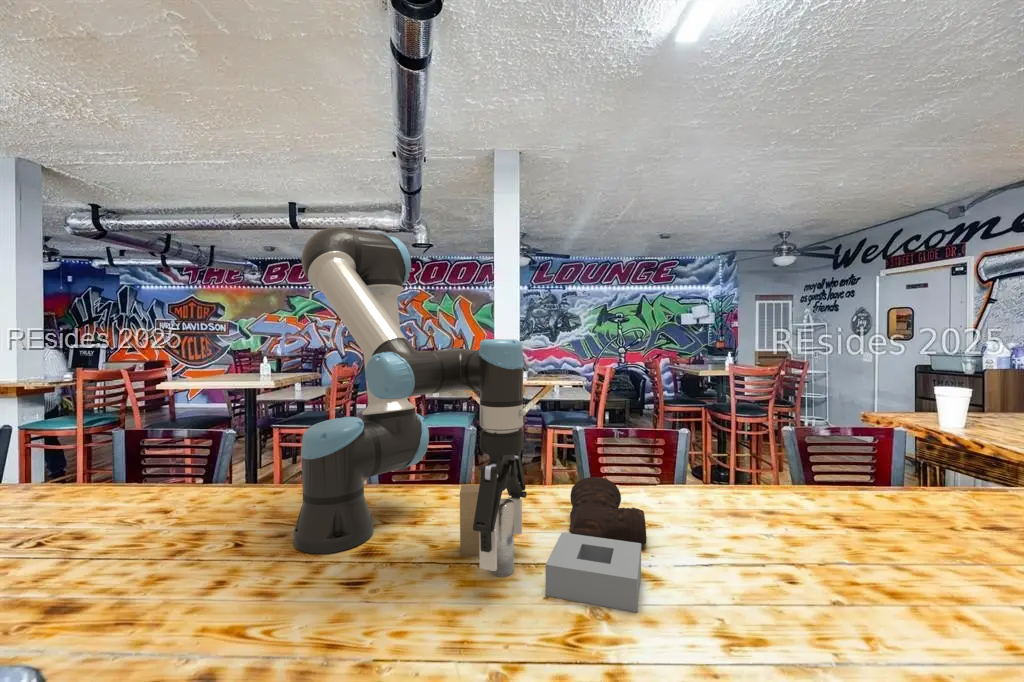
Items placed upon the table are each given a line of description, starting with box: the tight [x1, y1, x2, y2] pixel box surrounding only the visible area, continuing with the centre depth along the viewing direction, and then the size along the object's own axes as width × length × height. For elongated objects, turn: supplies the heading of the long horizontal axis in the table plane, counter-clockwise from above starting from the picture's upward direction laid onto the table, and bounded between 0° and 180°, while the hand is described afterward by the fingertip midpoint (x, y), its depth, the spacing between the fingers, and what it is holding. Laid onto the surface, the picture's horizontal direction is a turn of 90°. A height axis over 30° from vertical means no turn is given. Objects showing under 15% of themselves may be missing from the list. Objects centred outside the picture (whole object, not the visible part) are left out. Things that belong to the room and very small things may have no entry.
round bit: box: [490, 498, 515, 578], centre depth 81 cm, size 4×4×12 cm
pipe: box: [569, 476, 647, 546], centre depth 96 cm, size 10×15×15 cm
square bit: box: [459, 484, 480, 557], centre depth 88 cm, size 4×4×12 cm
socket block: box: [545, 532, 642, 613], centre depth 77 cm, size 14×12×5 cm
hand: (502, 549), depth 81 cm, fingers open, 13 cm apart
